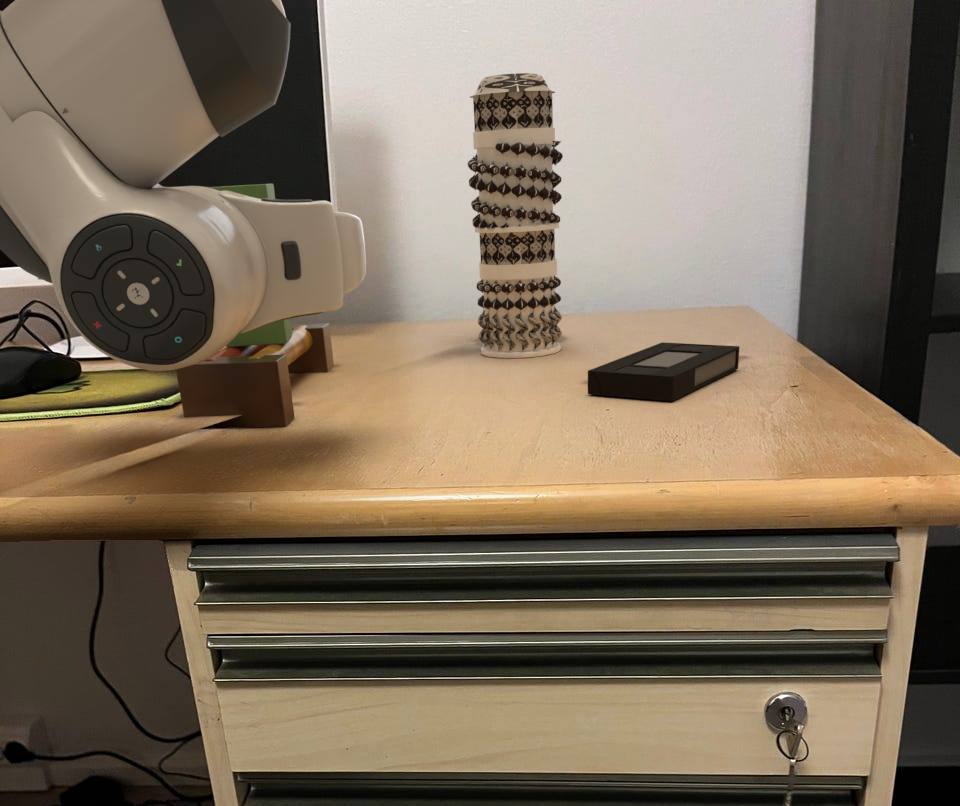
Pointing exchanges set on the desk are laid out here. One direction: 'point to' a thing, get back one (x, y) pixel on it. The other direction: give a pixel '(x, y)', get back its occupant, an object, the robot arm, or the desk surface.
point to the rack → (254, 379)
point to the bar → (277, 329)
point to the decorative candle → (516, 215)
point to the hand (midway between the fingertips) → (230, 249)
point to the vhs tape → (663, 371)
